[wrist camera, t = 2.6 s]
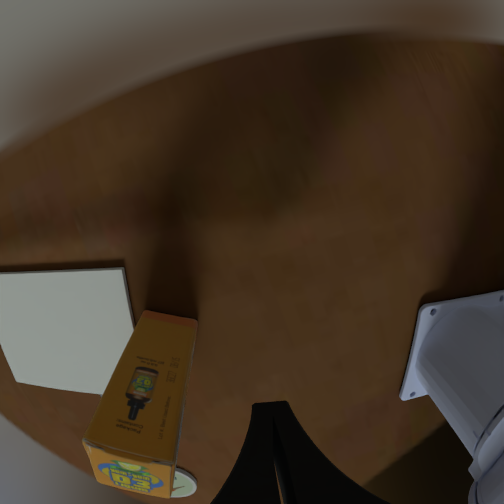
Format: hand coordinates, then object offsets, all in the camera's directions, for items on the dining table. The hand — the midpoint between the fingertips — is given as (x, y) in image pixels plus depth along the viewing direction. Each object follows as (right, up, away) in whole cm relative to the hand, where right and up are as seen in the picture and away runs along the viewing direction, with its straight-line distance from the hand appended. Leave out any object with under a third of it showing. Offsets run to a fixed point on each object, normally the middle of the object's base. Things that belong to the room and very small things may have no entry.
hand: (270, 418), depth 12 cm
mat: (-14, +1, +6) cm, 15 cm away
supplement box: (-6, +2, +7) cm, 9 cm away
